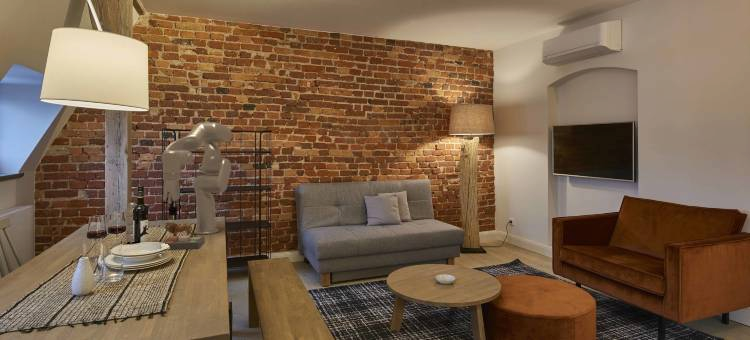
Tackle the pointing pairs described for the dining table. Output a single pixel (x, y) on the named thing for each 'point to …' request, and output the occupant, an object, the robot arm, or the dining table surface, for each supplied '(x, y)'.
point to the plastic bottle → (129, 222)
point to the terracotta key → (172, 238)
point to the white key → (184, 238)
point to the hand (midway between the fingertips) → (173, 215)
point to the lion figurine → (178, 228)
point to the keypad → (185, 244)
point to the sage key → (195, 238)
